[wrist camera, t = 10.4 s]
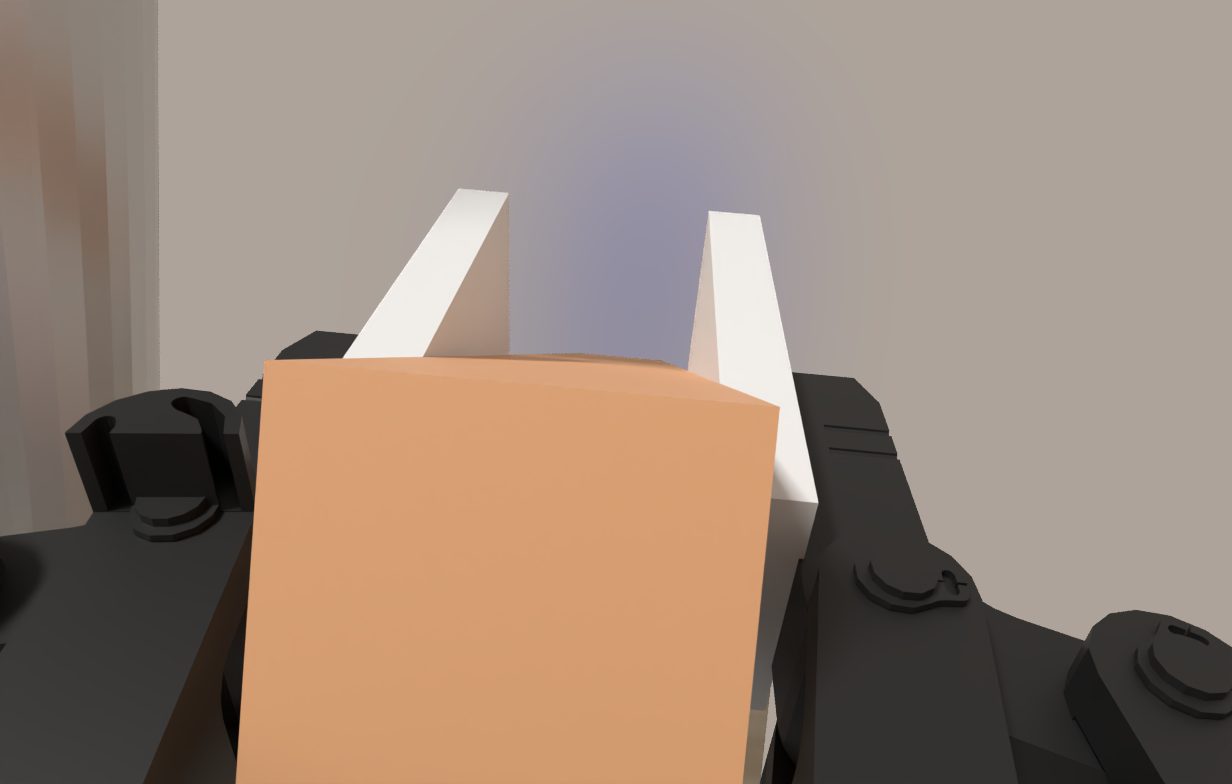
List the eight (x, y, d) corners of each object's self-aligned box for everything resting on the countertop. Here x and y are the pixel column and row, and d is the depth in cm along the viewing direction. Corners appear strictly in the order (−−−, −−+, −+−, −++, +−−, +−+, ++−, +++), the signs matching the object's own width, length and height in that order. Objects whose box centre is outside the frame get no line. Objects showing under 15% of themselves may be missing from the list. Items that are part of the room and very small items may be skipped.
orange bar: (729, 911, 5) (779, 407, 5) (230, 859, 5) (264, 361, 5) (653, 441, 31) (661, 360, 31) (573, 433, 31) (580, 353, 31)
